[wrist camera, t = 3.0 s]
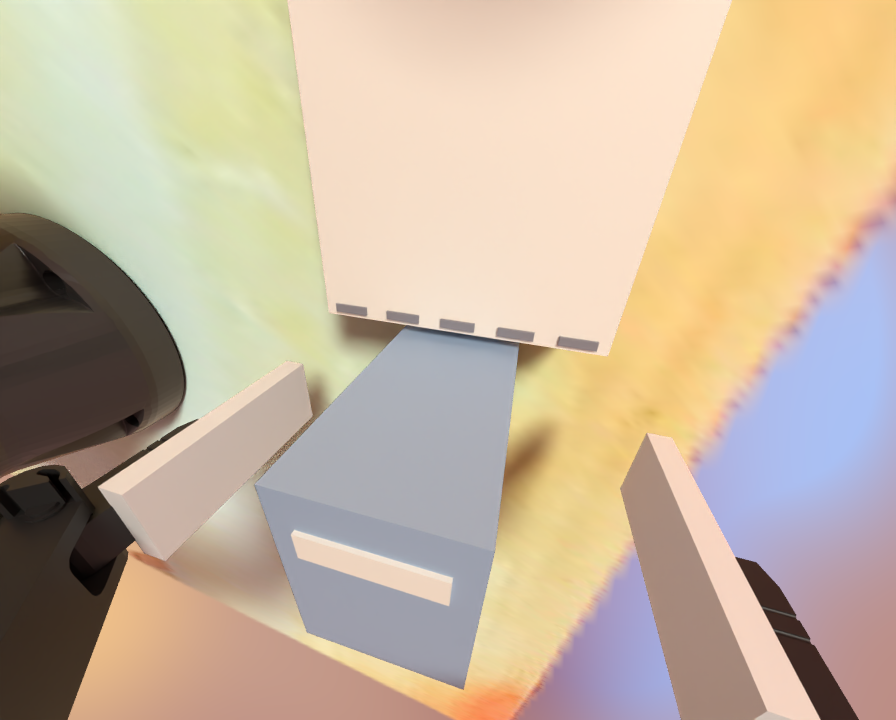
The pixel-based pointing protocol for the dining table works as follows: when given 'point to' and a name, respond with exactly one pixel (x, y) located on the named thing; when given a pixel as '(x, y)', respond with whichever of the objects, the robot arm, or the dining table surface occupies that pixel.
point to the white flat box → (495, 155)
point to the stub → (400, 501)
